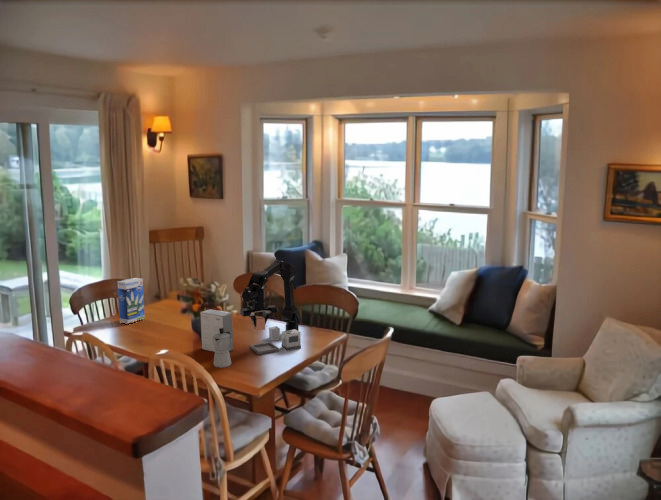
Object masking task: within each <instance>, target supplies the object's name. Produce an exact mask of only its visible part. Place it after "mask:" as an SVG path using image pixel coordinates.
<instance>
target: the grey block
mask: <svg viewBox="0 0 661 500" xmlns="http://www.w3.org/2000/svg"><path fill="white" fill-rule="evenodd" d="M280 332H281V329H280V327H278V326H277V325H276V326H271V327H270V326H269V327H268V338H269V339H270V340H271V341H274V340H281V333H280Z"/></svg>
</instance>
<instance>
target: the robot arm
mask: <svg viewBox="0 0 661 500" xmlns="http://www.w3.org/2000/svg"><path fill="white" fill-rule="evenodd" d="M277 272H279V275H280V276H279V277H281V279H282V281H283V291H284V307H283V308H282V309H281V317H282V319H283V322H284V323H286V324H285V331H288V330H294V329H296V330H298V331H299V330H300V329H299V326H300V325H299V324H300V323H302V317H301V316H300V315H299V313H298V309H297V307H296V306H295V301H294V298H295V297H294V283H293V281H294V279H295V276H296V267H295V266H294V265H293V264H290V263H287V262H285V261H283V260H275V261H274V262H273V263H272V264H271V265H270V264H269V266H267V267H266V268H264V269H263V270H261V271H260V270H259V271H256V272H254V273H252V274H251V276H250V279H249V281H248V284H247V286H246V287H245V288H244V290H243V291H242V293H241V298H242V300H243V301H244V302H246V308H241V309H240V310H239V311H240V313H239V314H240V315H241V316H242V317H250V319H251V322H252V325H253V328H254V327H256V317H257V316H256V314H257V313H258V314H259V313H262V315H263V316H262V317H264V318H265V325H266V324H267V321H268V320H269V318H270V316H271V315H273V314H276V313H277V314H278V312H279V309H278V307H277V306H276V305H275V304H271V305H270V304H269V305H267V307H266V306H265V304H266V299H265V298H266V296H265V294H266V293H265V289H266V288H268V286H267V285H266V284H267V283H268V282H269V278H271V277H272V276H273V275H275V274H276V273H277ZM248 307H250V309H249V308H248ZM299 332H300V331H299Z"/></svg>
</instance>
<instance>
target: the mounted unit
mask: <svg viewBox="0 0 661 500" xmlns="http://www.w3.org/2000/svg"><path fill="white" fill-rule="evenodd" d="M281 348H283V349H284V350H285V351H286V352H288V351H289V352H290V351H293V350H294V351H295V350H300V349H302V345H301V332H300V331H298V330H296V329H294V330H288V331H286V330H282V331H281Z"/></svg>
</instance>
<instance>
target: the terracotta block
mask: <svg viewBox="0 0 661 500" xmlns="http://www.w3.org/2000/svg"><path fill="white" fill-rule="evenodd" d="M253 329H254V330H255V331H257V332H259V331H265V330H266V324H265V318H264V317H263V316H256V327H254V326H253Z"/></svg>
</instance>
